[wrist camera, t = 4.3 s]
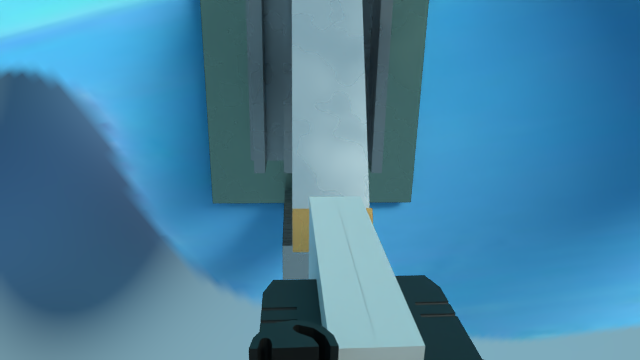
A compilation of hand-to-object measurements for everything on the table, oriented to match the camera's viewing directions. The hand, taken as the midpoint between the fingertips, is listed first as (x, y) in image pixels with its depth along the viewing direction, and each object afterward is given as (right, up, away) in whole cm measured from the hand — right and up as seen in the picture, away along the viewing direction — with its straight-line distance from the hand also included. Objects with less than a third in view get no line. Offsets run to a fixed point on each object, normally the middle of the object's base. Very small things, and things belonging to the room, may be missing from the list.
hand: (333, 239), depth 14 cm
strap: (0, +6, +6) cm, 9 cm away
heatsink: (-1, +9, +17) cm, 19 cm away
